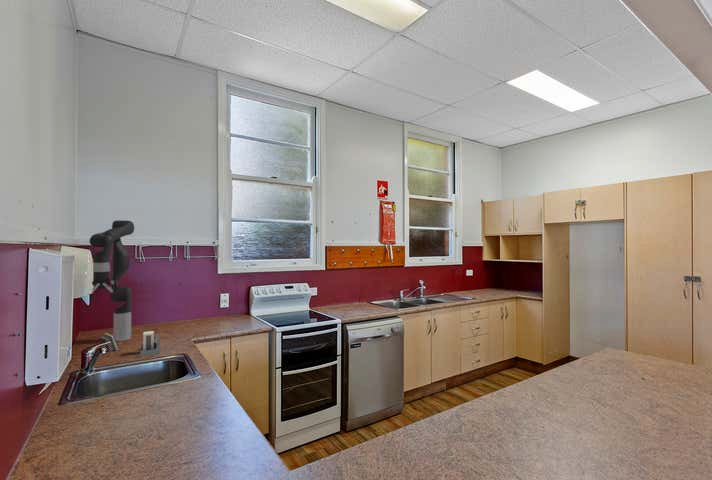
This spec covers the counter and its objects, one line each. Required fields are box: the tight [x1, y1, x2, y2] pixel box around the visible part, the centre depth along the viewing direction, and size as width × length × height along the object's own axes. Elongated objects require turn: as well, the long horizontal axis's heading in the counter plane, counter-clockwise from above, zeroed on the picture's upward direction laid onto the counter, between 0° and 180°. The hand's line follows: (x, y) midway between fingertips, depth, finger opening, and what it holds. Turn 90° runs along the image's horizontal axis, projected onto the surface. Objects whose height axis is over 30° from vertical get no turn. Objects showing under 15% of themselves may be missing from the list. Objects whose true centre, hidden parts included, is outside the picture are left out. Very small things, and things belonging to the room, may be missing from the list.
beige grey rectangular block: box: [142, 330, 155, 350], centre depth 195 cm, size 5×5×11 cm
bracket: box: [139, 332, 161, 358], centre depth 196 cm, size 14×9×8 cm, turn 31°
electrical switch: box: [99, 333, 119, 352], centre depth 197 cm, size 9×5×9 cm, turn 57°
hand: (101, 299), depth 190 cm, fingers open, 8 cm apart
